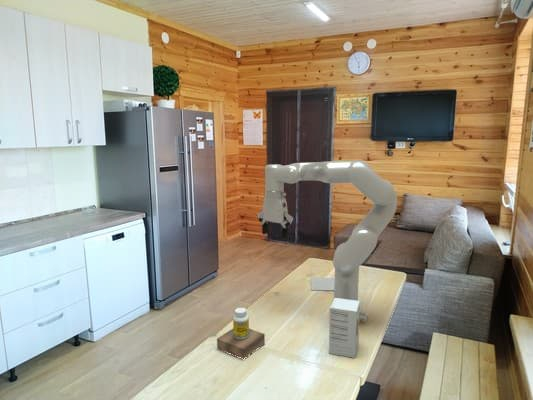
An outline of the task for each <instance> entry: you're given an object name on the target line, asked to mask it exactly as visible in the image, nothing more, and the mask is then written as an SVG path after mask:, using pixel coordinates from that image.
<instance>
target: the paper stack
mask: <svg viewBox="0 0 533 400" xmlns="http://www.w3.org/2000/svg"><path fill="white" fill-rule="evenodd" d="M310 281H311V282H310V283H311V287H310V288H311V291H334V281H335V277H316V276H312V277H310Z"/></svg>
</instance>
